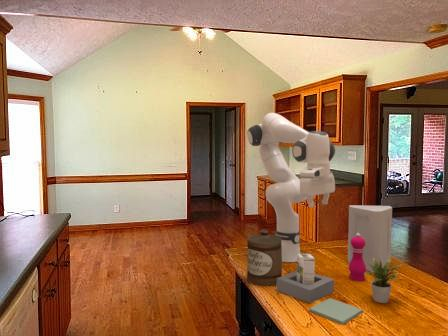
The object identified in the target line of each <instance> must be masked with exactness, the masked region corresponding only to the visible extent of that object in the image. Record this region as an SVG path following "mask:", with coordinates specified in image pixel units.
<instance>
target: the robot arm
mask: <svg viewBox="0 0 448 336" xmlns="http://www.w3.org/2000/svg"><path fill="white" fill-rule="evenodd" d="M246 137H247V141H248V142H249V144H250V145H251V146H253V147H259V149H258V150H259V154H260V158H261V161H262V163H263V166H264V168H265V171H266V173H267V176H268V177H269V179H271V180H272V181H274V182H275V183H273V184H270V185H268V186H267V187H266V190H265V198H266V201H267V202H268V203H269V204H270V205H271V206H272V207H273V209H274V211H275V215H276V230H273V231H272V234H273V235H275V236H278V237H280V238H281V241H282V246H281V247H282V263H296V262H297V254H302V253H301V247H300V240H301V239H300V237H301V236H300V234H301V233H300V216H299V214H298V213H297V212H296V211H294V210H293V205H292V204H298V203H303V202H304V201H306V200H307V203H308V207H310V208H314V207H315V202H314V197H315V196H319V195H323V198H322V200H321V205H328V204H329V203H328V200H329V199H330V194H331V193H335V191H336V182H335V181H336V180H335V175H334V174H333V172H332V170H331V169H330V167H331V165H330V162H331V161H332V160H333V158H334V157H335V154H336V147H335V146H334V144H333V142H332V141H331V140H330V138H329V134H328V133H327V132H325V131H319V130H311V131H309V130H306V129H304V128H302V127H301V126H299V125H297V124H295V123H293V122H292V121H290V120H288V119H287V118H286V117H284V116H282V115H281V114H278V113H276V112H269V113H267V114H265V115H264V117H263V119H262V123H259V124H254V125H252V126H250V127H249V128H248V130H247V131H246ZM285 143H286V144H287V143H289V144H293V147H292V157H293V158H294V160H295V162H296V161H297V162H298V163H306V167H304V168H303V169H302V170H300V171H299V177H300V178H299V177H298V176H296V174H295V173H294V172H293V171H292V169H291V168H290V167H289V165H288V163H287V162H286V160H285V157H284V155H283V153H282V151H281V150H280V147H279V144H285Z"/></svg>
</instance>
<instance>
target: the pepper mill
mask: <svg viewBox="0 0 448 336" xmlns="http://www.w3.org/2000/svg"><path fill="white" fill-rule="evenodd" d="M351 245H352V246H353V247H352V251H353V257H352V260H351V262H350V264H349V263H348V271H349V279H350V280H352V281H357V282H363V281H365V279H366V275H365V273H364V272H367V270H366V265H365V263H364V261H363V252H364V248H363V247H364V246H365V240H364V239H363V238H362V237H360V234H359V233H357V234H356V237H353V238H352V239H351Z"/></svg>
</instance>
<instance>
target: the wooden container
mask: <svg viewBox="0 0 448 336" xmlns="http://www.w3.org/2000/svg"><path fill="white" fill-rule="evenodd" d="M259 232H260V233H259V234H253V235H249V236H248V237H247V241H246V242H247V244H246V245H247V259H246V260H247V261H246V263H247V264H246V265H247V266H246V267H247V268H246V270H247V273H246V275H247V278H246V279H247V282H249V283H251V284H253V285H255V286H261V287H263V286H264V287H266V286H267V287H268V286H269V287H270V286H277V278H279V277H282V276H283V262H282V247H281V246H282V241H281V238H280V237H278V236H275V235H274V234H269V230H268V229H266V228H262V229H261V230H260V231H259Z"/></svg>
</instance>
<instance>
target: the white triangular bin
mask: <svg viewBox="0 0 448 336" xmlns="http://www.w3.org/2000/svg"><path fill="white" fill-rule="evenodd" d="M392 222H393V207H392V206H391V205H357V204H356V205H351V204H350V205H349V206H348V235H347V237H348V238H347V239H348V240H347V243H348V244H347V263H348V265H349V264H350V262H351V260H352V257H353V251H352V247H353V246H352V245H351V239H352V238H353V237H356V234H357V233H359V234H360V237H362V238H363V239H364V240H365V246H364V247H363V248H364V252H363V261H364V263H365V265H366V271H367V272H370V273H373V272H374V271H373V269H372V268H371V267H370V265H369V264H368V263H370V264H371V265H372V266H373V265H374V261H373V258H375V260H376V261H377V263H378V264H379V265H380V262H379V257H380V260H381V263H382V269H383V267H384V265H385V263H386V261H387V260H388V258H389V261H390V260H392V258H391V253H392V250H391V249H392ZM366 261H367V262H368V263H367V262H366ZM389 261H388V262H389ZM374 267H375V266H374ZM374 267H373V268H374Z"/></svg>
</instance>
